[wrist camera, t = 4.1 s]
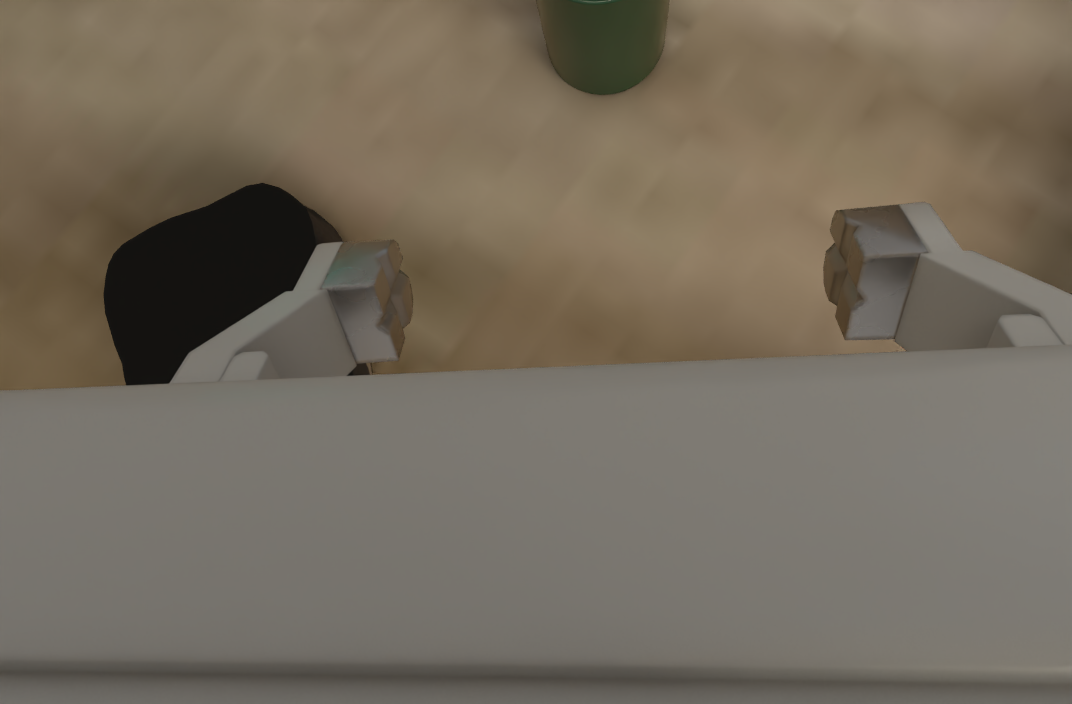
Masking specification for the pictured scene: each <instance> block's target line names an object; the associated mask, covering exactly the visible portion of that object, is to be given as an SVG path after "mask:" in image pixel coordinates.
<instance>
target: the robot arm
mask: <svg viewBox="0 0 1072 704" xmlns="http://www.w3.org/2000/svg"><path fill="white" fill-rule="evenodd" d="M830 232H831V235H832V237H833V239H834V241H835V243H834V244H833V245H832V246H831V247H830V248H829V249H828V250H827V251H826V254H825V261H824V267H823V273H824V286H825V292H826V294H827V297H828V300H829V301H830V302H832V303H833V304H835V305H837V310H836V315H835V317H836V320H837V322H838V325H839V327H840V329H841V332H842V334H843V337H844V339H845V340H879V339H895V342H896V343H898V344H899V345H900V346H902V347H903V348H904V349H905V350H907V352H884V353H861V354H838V355H816V356H793V357H770V358H747V359H724V360H701V361H678V362H655V363H632V364H609V365H586V366H563V367H540V368H517V369H494V370H471V371H448V372H425V373H402V374H379V375H356V376H347V375H348V374H349V373H350V372H351V371H352V370H353V369H354V368H355V367H356V366H357V365H356V364H359V363H373V362H386V361H398V360H399V357H400V354H401V350H402V347H403V344H404V341H405V335H404V332H403V328H404V327H405V326H407V325H408V324H409V323H410V321H411V317H412V313H413V295H412V288H411V284H410V281H409V277H408V276H407V275H405V274H404V273H403V272H402V271H401V270H400V266H401V263H402V260H403V257H402V254H401V251H400V248H399V245H398V243H397V242H396V241H395V240H373V241H352V242H333V243H322V244H319V245H317V246H316V248H315V250H314V252H313V254H312V255H311V257H310V259H309V261H308V263H307V265H306V267H305V269H304V271H303V272H302V274H301V276H300V278H299V280H298V282H297V284H296V286H295V288H294V290H293V291H286V292H284V293H282V294H281V295H279V296H278V297H276V298H274V299H273V300H271V301H270V302H268V303H267V304H265V305H263V306H262V307H260V308H259V309H257V310H256V311H254V312H252V313H251V314H249V315H248V316H246V317H245V318H243V319H241V320H240V321H238V322H237V323H235V324H234V325H232V326H230V327H229V328H227V329H226V330H224V331H223V332H221V333H219V334H218V335H216V336H215V337H213V338H211V339H210V340H208V341H207V342H205V343H204V344H202V345H200V346H199V347H197V348H196V349H194V350H193V351H191V352H189V353H188V355H187V356H186V358H185V360H184V361H183V363H182V364H181V366H180V367H179V369H178V371H177V372H176V374H175V375H174V377H173V378H172V380H171V381H170V383H169V384H148V385H125V386H102V387H79V388H55V389H32V390H0V704H1072V294H1070V293H1067V292H1065V291H1063V290H1060V289H1058V288H1056V287H1054V286H1051V285H1049V284H1047V283H1045V282H1042V281H1040V280H1038V279H1035V278H1033V277H1031V276H1029V275H1026V274H1024V273H1022V272H1020V271H1017V270H1015V269H1013V268H1011V267H1008V266H1006V265H1004V264H1001V263H999V262H997V261H995V260H992V259H990V258H988V257H986V256H983V255H981V254H979V253H976V252H974V251H963V250H962V249H961V247H960V246H959V245H958V243H957V242H956V240H955V239H954V238H953V236H952V235H951V233H950V232H949V230H948V229H947V228H946V226H945V225H944V223H943V222H942V220H941V219H940V218H939V216H938V215H937V213H936V212H935V210H934V209H933V208H932V206H931V205H930V204H929V203H926V202H917V203H908V204H898V205H889V206H878V207H867V208H856V209H845V210H836V211H835V214H834V216H833V218H832V223H831V228H830Z"/></svg>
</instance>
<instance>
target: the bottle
mask: <svg viewBox="0 0 1072 704" xmlns="http://www.w3.org/2000/svg"><path fill="white" fill-rule="evenodd" d="M669 3H670V0H536V4H537V8H538V12H539V17H540V21H541V25H542V30H543V34H544V38H545V42H546V47H547V51H548V55H549V58H550V61H551V63H552V65H553V67H554V69H555V70H556V72H557V73H558V74H559V76H560V77H561V78H562V79H563V80H564V81H565V82H567V83H568V84H570V85H571V86H573V87H574V88H576V89H578V90H581V91H583V92H587V93H591V94H599V95H606V94H614V93H618V92H622V91H625V90H627V89H629V88H631V87H633V86H635V85H637V84H638V83H639V82H641V81H642V80H643V79H645V78H646V77H647V76H648V75H649V74H650V72H651V71H652V70H653V69H654V67H655V66H656V64H657V63H658V61H659V59H660V56H661V54H662V51H663V48H664V44H665V37H666V28H667V20H668V11H669Z"/></svg>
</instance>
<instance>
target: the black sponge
mask: <svg viewBox="0 0 1072 704" xmlns="http://www.w3.org/2000/svg"><path fill="white" fill-rule="evenodd" d="M333 242H343V241H342V239H341V237H340V236H339V234H338V232H337V231H336V230H335V229H334V228H333V227H332V226H331V225H330V224H329V223H328V222H327V221H326V220H325V219H323V218H322V217H321V216H320V215H319V214H317V213H316V212H315V211H313V210H311V209H309V208H307V207H305V206H304V205H302V204H301V203H300V202H299V201H298V200H297V199H296V198H294V197H293V196H292V195H291V194H289V193H287V192H286V191H284V190H282V189H281V188H279V187H275V186H272V185H268V184H264V183H260V184H254V185H249V186H245V187H243V188H241V189H239V190H238V191H236V192H234V193H232V194H230V195H228V196H226V197H224V198H222V199H220V200H218V201H216V202H214V203H212V204H210V205H208V206H206V207H203V208H200V209H197V210H194V211H191V212H187V213H184V214H181V215H178V216H175V217H172V218H170V219H167V220H165V221H163V222H161V223H159V224H157V225H155V226H153V227H151V228H149V229H147V230H146V231H144V232H142V233H141V234H139V235H137V236H136V237H134V238H132V239H131V240H129V241H127V242H126V243H124V244H123V245H122V246H121V247H120V248H119V249H118V250H117V251H116V252H115V253H114V254H113V256H112V258H111V260H110V262H109V264H108V269H107V273H106V278H105V287H104V305H105V314H106V317H107V321H108V324H109V327H110V331H111V334H112V338H113V341H114V345H115V347H116V350H117V352H118V355H119V357H120V360H121V362H122V366H123V372H124V378H125V382H126V385H148V384H169V383H170V381H171V380H172V378H173V377H174V375H175V374H176V372H177V371H178V369H179V367H180V366H181V364H182V363H183V361H184V360H185V358H186V356H187V355H188V353H189V352H191V351H193V350H194V349H196V348H197V347H199V346H200V345H202V344H204V343H205V342H207V341H208V340H210V339H211V338H213V337H215V336H216V335H218V334H219V333H221V332H223V331H224V330H226V329H227V328H229V327H230V326H232V325H234V324H235V323H237V322H238V321H240V320H241V319H243V318H245V317H246V316H248V315H249V314H251V313H252V312H254V311H256V310H257V309H259V308H260V307H262V306H263V305H265V304H267V303H268V302H270V301H271V300H273V299H274V298H276V297H278V296H279V295H281V294H282V293H284V292H286V291H293V290H294V288H295V286H296V284H297V282H298V280H299V278H300V276H301V274H302V272H303V271H304V269H305V267H306V265H307V263H308V261H309V259H310V257H311V255H312V254H313V252H314V250H315V248H316V246H317V245H319V244H322V243H333ZM356 365H357V366H356V367H355V368H354V369H353V370H352V371H351V372H350V373H349V374H348V375H347V376H356V375H372V371H371V364H370V363H359V364H356Z"/></svg>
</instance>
